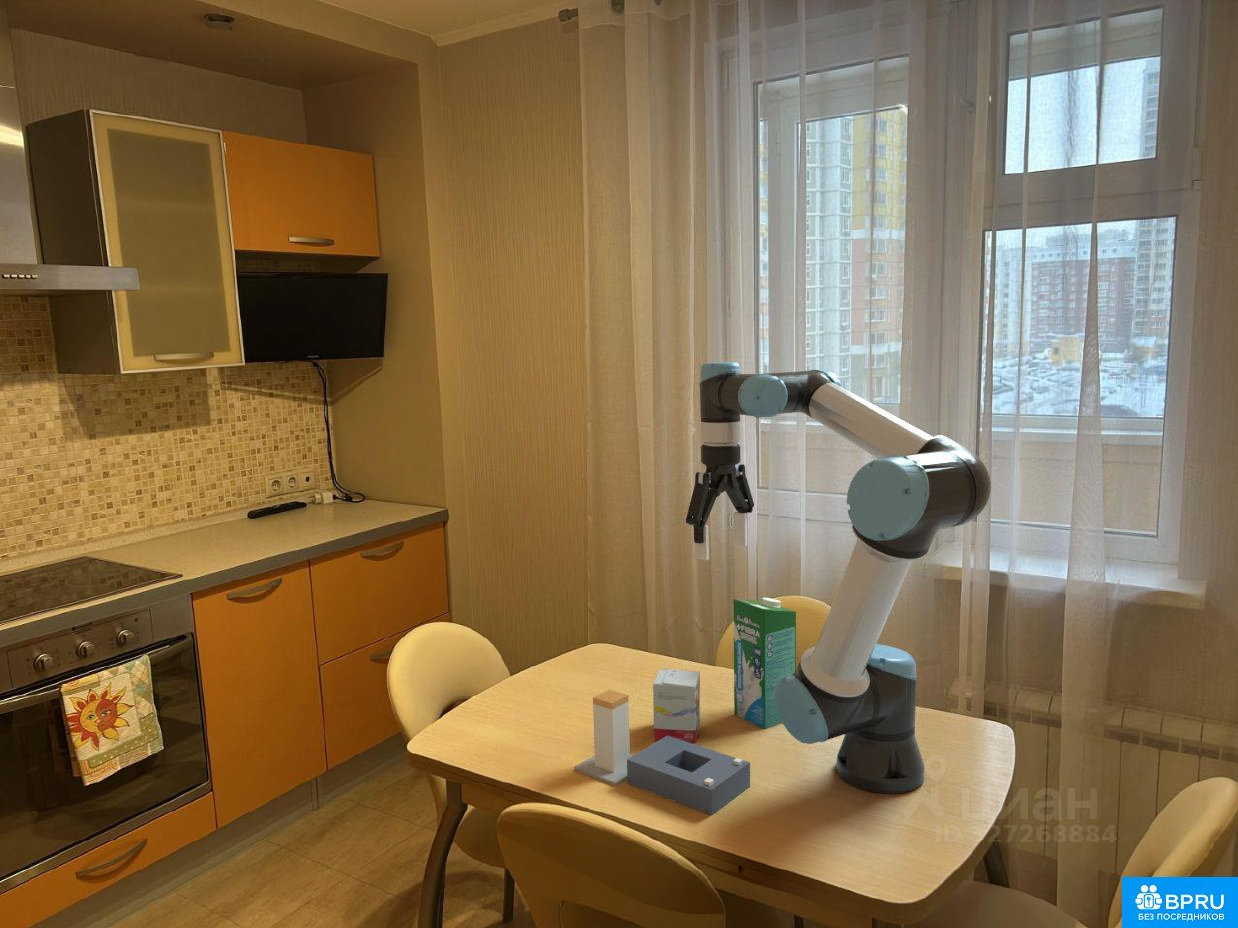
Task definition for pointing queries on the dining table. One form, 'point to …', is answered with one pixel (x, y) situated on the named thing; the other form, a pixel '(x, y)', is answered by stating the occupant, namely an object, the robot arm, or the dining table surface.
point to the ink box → (676, 704)
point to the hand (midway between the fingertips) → (721, 552)
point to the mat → (602, 772)
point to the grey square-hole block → (689, 774)
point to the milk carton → (761, 657)
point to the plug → (611, 730)
